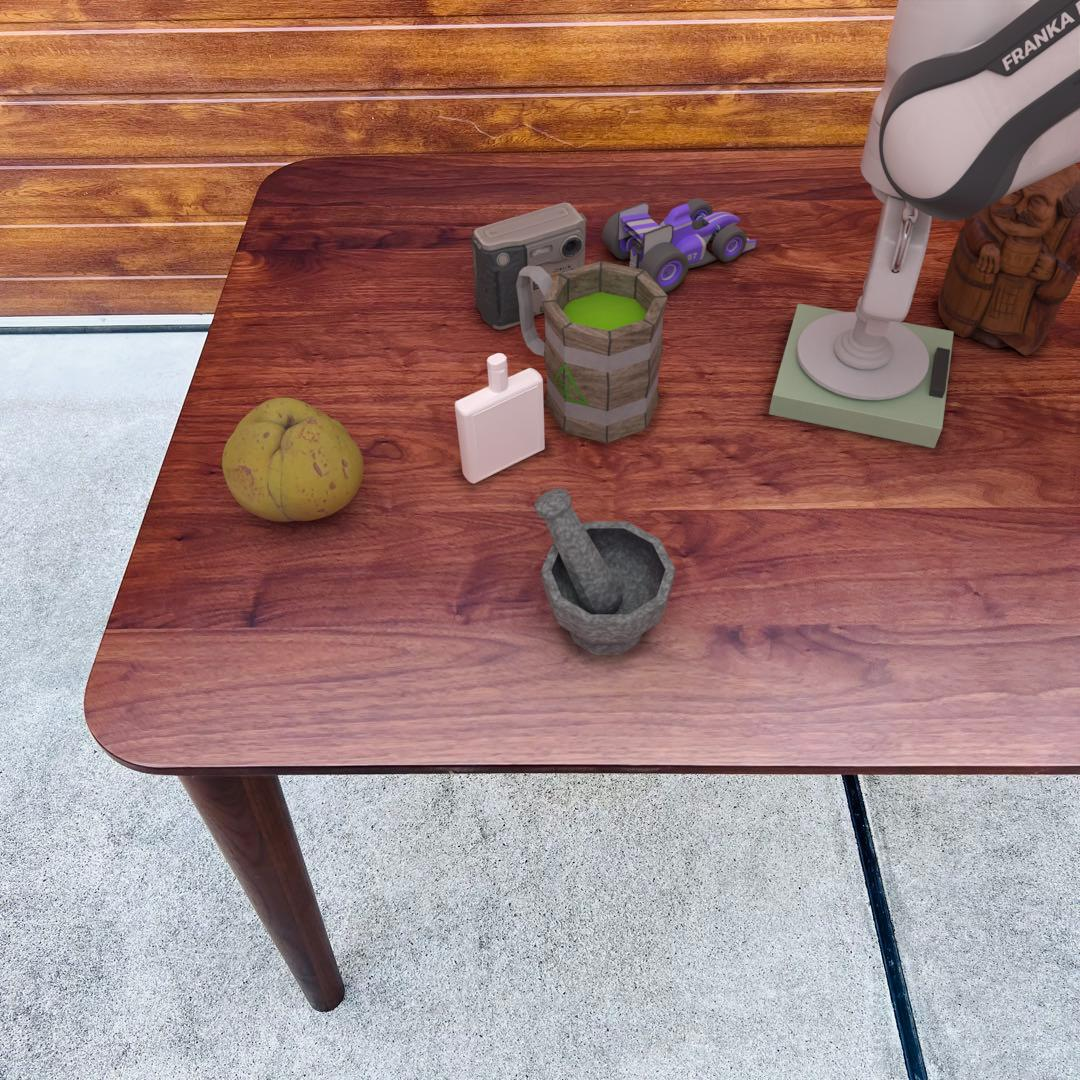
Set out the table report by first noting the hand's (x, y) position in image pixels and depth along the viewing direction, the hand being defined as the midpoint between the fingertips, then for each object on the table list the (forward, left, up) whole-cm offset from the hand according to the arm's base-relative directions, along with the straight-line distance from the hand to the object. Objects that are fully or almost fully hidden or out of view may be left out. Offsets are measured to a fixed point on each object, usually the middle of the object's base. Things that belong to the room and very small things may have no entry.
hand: (881, 298), depth 89 cm
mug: (+25, +9, -10) cm, 28 cm away
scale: (0, 0, -10) cm, 10 cm away
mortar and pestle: (+16, +34, -10) cm, 39 cm away
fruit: (+44, +30, -10) cm, 54 cm away
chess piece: (0, 0, -6) cm, 6 cm away
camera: (+34, -2, -10) cm, 35 cm away
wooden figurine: (-11, -12, -10) cm, 19 cm away
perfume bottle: (+29, +20, -10) cm, 36 cm away
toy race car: (+21, -15, -10) cm, 27 cm away
